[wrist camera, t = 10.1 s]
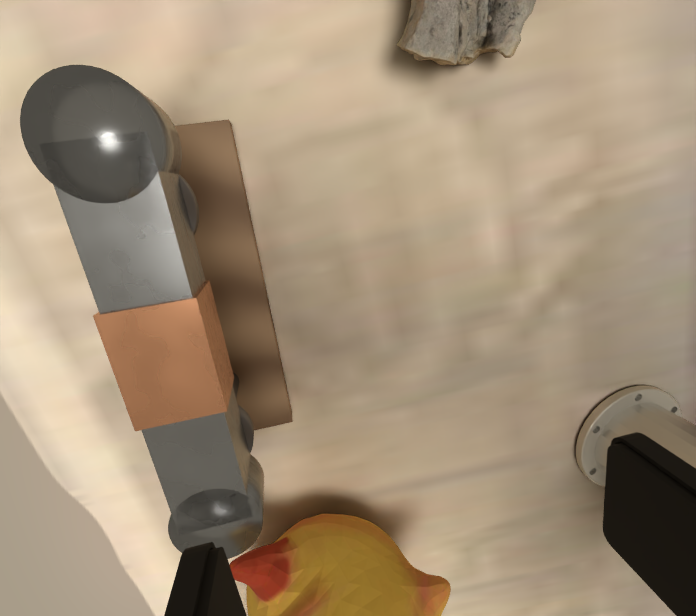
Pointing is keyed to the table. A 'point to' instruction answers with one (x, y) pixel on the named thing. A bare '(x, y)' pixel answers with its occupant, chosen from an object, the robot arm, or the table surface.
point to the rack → (233, 271)
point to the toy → (336, 573)
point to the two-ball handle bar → (149, 294)
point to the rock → (463, 29)
